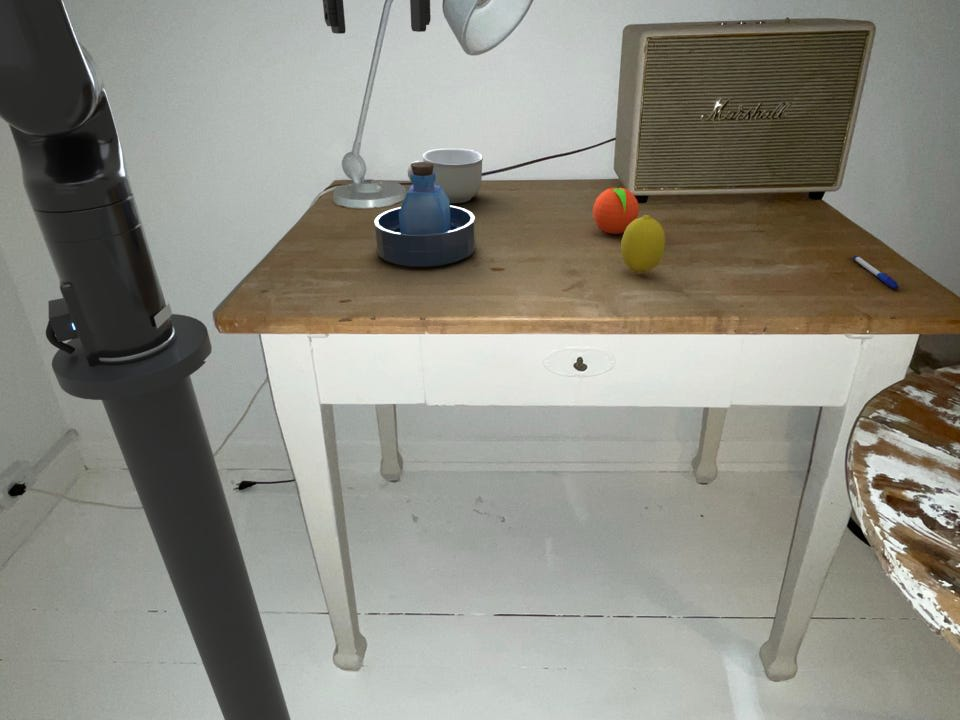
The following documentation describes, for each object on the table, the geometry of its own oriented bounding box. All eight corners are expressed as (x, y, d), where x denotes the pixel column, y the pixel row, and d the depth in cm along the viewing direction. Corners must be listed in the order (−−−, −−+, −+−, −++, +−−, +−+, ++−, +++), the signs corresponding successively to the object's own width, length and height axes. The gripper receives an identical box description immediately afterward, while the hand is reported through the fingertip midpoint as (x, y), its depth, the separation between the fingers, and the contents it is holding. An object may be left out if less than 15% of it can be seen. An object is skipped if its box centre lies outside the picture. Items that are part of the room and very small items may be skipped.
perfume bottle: (451, 241, 94) (448, 159, 88) (445, 256, 89) (441, 170, 83) (410, 240, 95) (404, 158, 89) (402, 255, 89) (395, 169, 83)
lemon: (615, 266, 86) (621, 208, 82) (656, 266, 86) (663, 208, 82) (621, 282, 81) (628, 222, 77) (665, 282, 81) (673, 221, 77)
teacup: (473, 188, 121) (472, 145, 117) (491, 203, 112) (491, 157, 108) (402, 196, 118) (398, 152, 114) (415, 212, 109) (412, 165, 105)
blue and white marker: (900, 290, 78) (903, 283, 77) (893, 290, 78) (895, 283, 77) (855, 259, 87) (858, 252, 86) (849, 259, 87) (851, 252, 86)
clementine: (644, 241, 94) (650, 194, 91) (599, 243, 94) (603, 196, 90) (628, 224, 101) (633, 180, 98) (586, 226, 101) (589, 182, 97)
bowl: (403, 278, 84) (400, 242, 81) (362, 247, 94) (359, 214, 92) (493, 257, 90) (493, 223, 87) (446, 230, 100) (445, 198, 98)
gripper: (422, -161, 61) (427, 29, 69) (272, -180, 54) (298, 32, 63) (459, -176, 55) (460, 33, 63) (297, -200, 49) (321, 35, 57)
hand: (379, 32), depth 63 cm, fingers open, 8 cm apart
